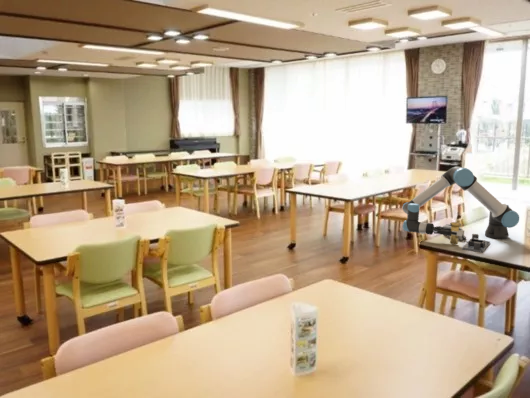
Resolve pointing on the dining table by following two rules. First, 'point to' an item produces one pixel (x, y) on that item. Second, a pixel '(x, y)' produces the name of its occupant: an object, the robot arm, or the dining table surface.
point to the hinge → (459, 229)
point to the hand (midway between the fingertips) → (463, 233)
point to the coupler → (454, 228)
